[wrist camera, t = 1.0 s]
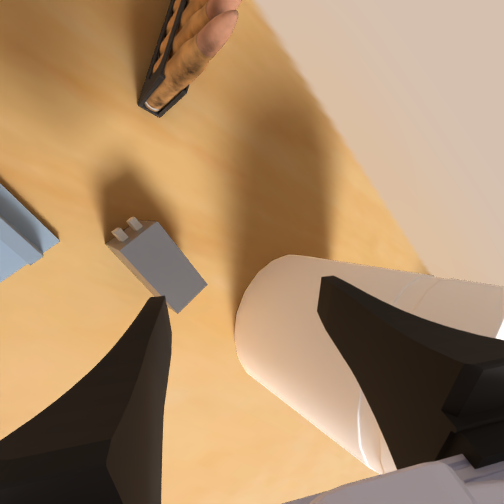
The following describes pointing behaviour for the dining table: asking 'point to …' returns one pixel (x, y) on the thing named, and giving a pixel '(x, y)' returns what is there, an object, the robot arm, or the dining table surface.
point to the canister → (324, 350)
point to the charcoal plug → (157, 262)
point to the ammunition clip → (185, 49)
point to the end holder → (20, 235)
